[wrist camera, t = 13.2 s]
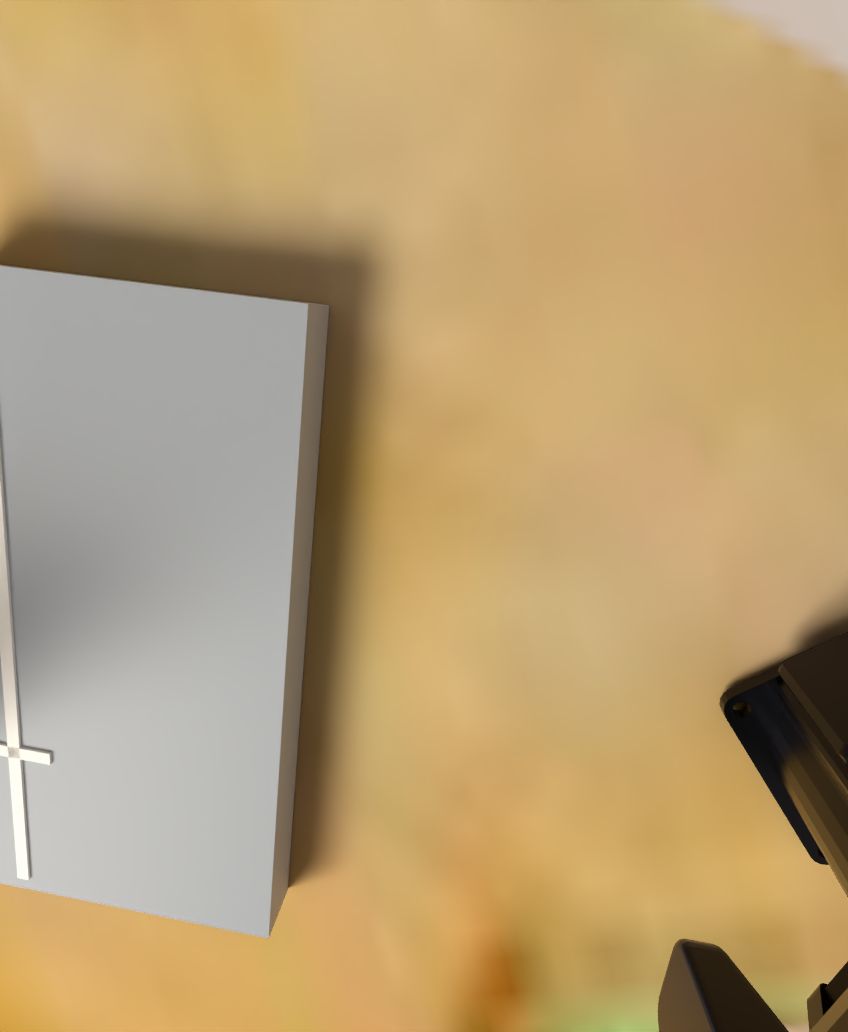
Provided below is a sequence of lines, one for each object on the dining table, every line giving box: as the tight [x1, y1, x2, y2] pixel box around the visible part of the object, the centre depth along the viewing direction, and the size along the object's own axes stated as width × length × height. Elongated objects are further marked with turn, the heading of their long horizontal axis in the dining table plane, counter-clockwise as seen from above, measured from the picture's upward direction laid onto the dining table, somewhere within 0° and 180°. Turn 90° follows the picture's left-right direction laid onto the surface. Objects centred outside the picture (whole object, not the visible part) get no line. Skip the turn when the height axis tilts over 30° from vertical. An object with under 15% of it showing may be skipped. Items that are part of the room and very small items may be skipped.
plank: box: [0, 265, 329, 938], centre depth 21 cm, size 20×10×2 cm, turn 174°
